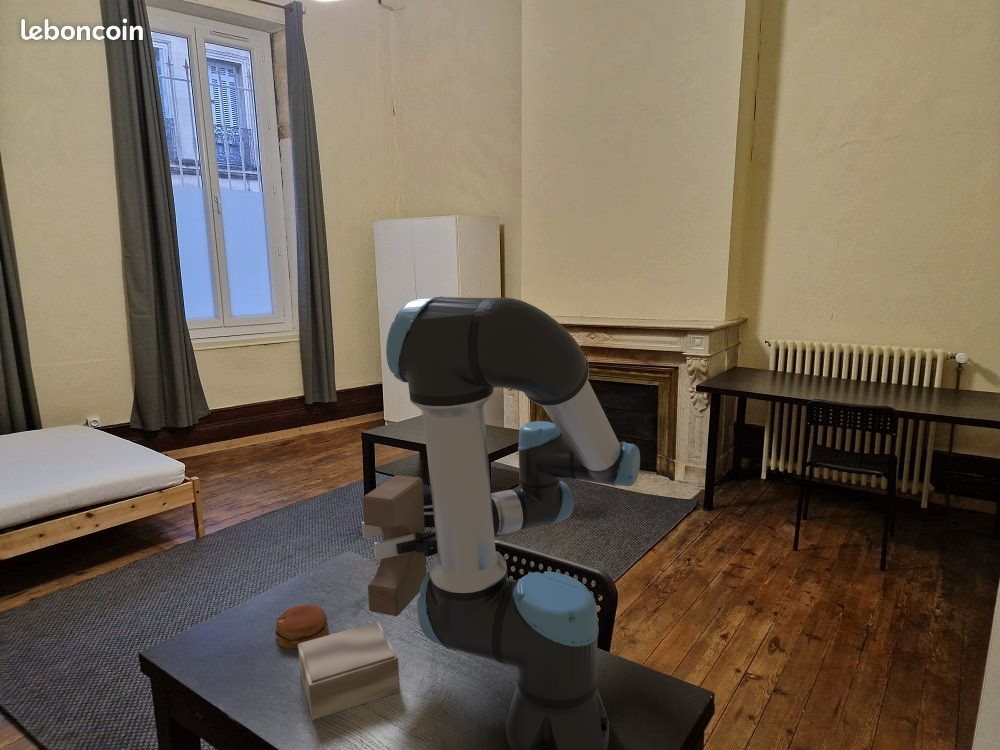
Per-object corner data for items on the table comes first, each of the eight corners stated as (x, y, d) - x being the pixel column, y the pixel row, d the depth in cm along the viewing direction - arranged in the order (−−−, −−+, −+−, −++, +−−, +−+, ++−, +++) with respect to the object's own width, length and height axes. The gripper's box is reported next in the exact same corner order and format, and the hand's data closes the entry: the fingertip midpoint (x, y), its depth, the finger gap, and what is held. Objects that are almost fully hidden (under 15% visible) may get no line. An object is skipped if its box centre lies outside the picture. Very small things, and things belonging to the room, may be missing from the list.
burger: (337, 635, 117) (335, 612, 116) (291, 657, 111) (289, 633, 110) (312, 615, 124) (310, 594, 123) (267, 635, 118) (265, 613, 117)
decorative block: (397, 618, 99) (391, 500, 95) (366, 612, 101) (359, 496, 97) (428, 584, 109) (424, 477, 105) (400, 579, 111) (395, 473, 107)
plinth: (399, 691, 101) (397, 656, 100) (312, 720, 95) (309, 683, 94) (380, 651, 111) (378, 619, 110) (300, 675, 105) (297, 642, 104)
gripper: (519, 558, 103) (386, 590, 93) (471, 513, 122) (356, 537, 112) (518, 515, 101) (383, 544, 92) (469, 477, 120) (354, 498, 111)
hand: (368, 540), depth 102 cm, fingers closed on decorative block, 8 cm apart
